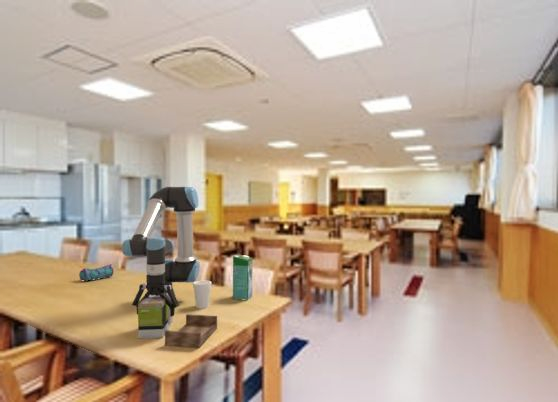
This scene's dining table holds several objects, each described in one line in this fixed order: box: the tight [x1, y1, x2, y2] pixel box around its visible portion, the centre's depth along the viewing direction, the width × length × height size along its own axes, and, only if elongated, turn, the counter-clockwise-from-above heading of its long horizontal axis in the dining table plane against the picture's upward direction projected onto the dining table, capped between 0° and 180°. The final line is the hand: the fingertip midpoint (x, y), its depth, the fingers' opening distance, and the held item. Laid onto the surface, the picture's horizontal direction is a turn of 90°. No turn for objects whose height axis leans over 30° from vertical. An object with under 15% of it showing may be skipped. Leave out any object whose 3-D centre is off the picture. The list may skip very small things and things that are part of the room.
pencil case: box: [78, 263, 114, 282], centre depth 240 cm, size 21×9×10 cm, turn 148°
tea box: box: [137, 293, 172, 339], centre depth 143 cm, size 15×10×15 cm
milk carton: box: [232, 253, 253, 301], centre depth 195 cm, size 9×9×25 cm
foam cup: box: [192, 279, 212, 310], centre depth 177 cm, size 10×9×13 cm
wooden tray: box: [164, 313, 218, 349], centre depth 138 cm, size 14×20×6 cm
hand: (155, 322), depth 143 cm, fingers open, 13 cm apart
